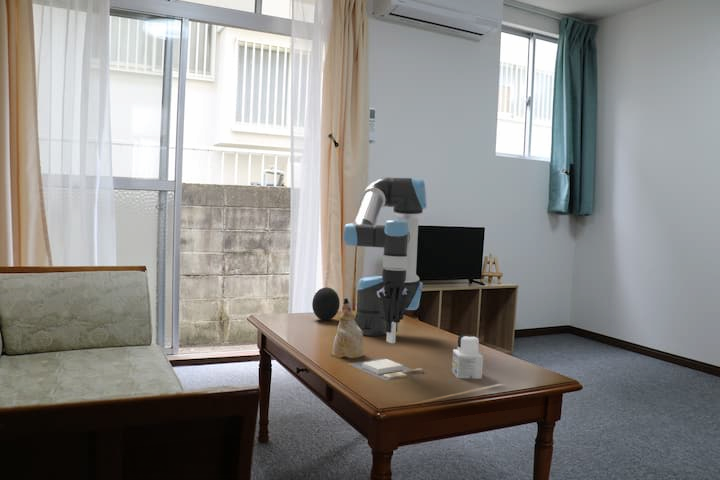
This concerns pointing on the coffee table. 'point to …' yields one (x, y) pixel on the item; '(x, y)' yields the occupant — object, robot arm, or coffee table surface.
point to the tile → (382, 366)
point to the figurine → (348, 335)
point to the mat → (359, 366)
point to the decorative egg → (325, 303)
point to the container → (467, 358)
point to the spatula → (403, 373)
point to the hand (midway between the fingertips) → (390, 342)
